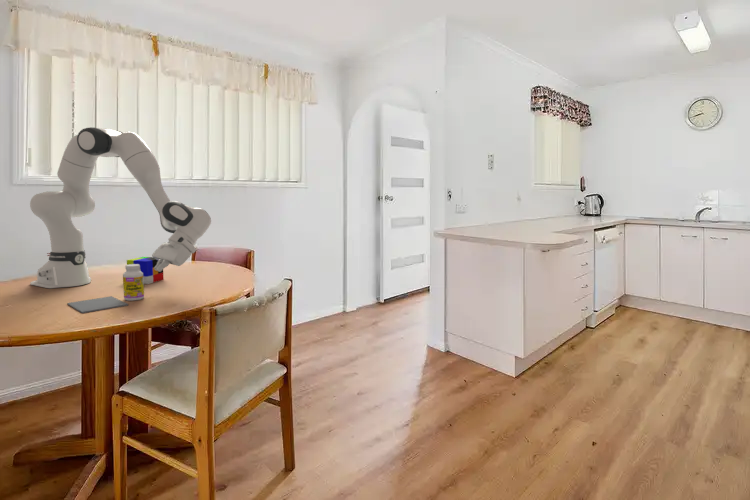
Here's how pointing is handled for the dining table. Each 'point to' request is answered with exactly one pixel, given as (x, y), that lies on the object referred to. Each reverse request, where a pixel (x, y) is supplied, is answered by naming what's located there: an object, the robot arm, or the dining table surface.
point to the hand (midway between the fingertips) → (156, 270)
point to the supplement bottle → (133, 283)
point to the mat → (97, 304)
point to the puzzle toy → (147, 269)
